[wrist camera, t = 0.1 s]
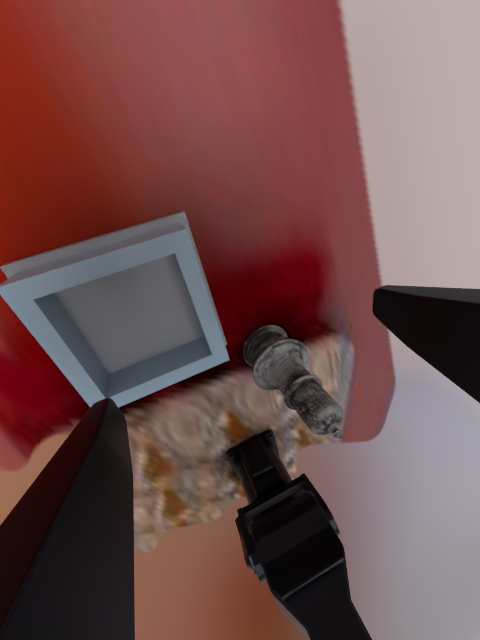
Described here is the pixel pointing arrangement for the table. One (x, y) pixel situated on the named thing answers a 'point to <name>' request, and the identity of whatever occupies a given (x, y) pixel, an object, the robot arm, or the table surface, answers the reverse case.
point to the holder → (121, 309)
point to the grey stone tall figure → (291, 378)
